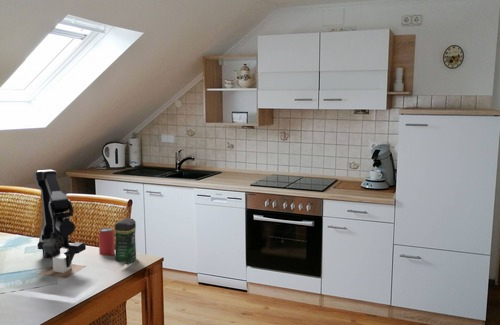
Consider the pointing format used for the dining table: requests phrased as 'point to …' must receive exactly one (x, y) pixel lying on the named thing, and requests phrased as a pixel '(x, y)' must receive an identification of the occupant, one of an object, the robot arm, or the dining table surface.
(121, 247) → the coffee jar
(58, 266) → the white block
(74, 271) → the post base
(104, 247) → the beer can
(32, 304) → the dining table surface
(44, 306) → the dining table surface
